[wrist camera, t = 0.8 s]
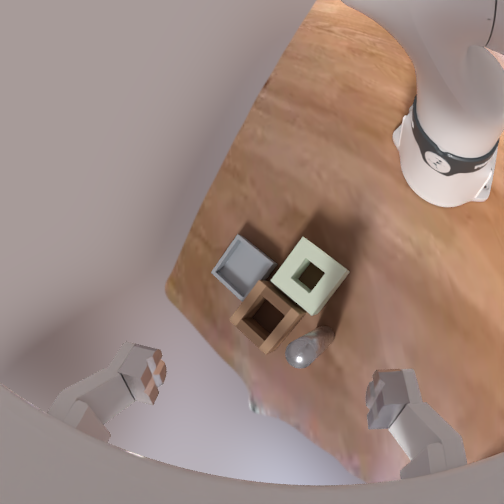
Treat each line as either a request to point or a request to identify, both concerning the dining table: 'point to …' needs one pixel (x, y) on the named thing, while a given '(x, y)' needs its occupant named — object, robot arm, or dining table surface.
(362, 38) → the dining table surface
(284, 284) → the sage block
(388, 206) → the dining table surface
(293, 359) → the cylinder
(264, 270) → the tray
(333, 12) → the dining table surface
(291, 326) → the brown wooden square frame
